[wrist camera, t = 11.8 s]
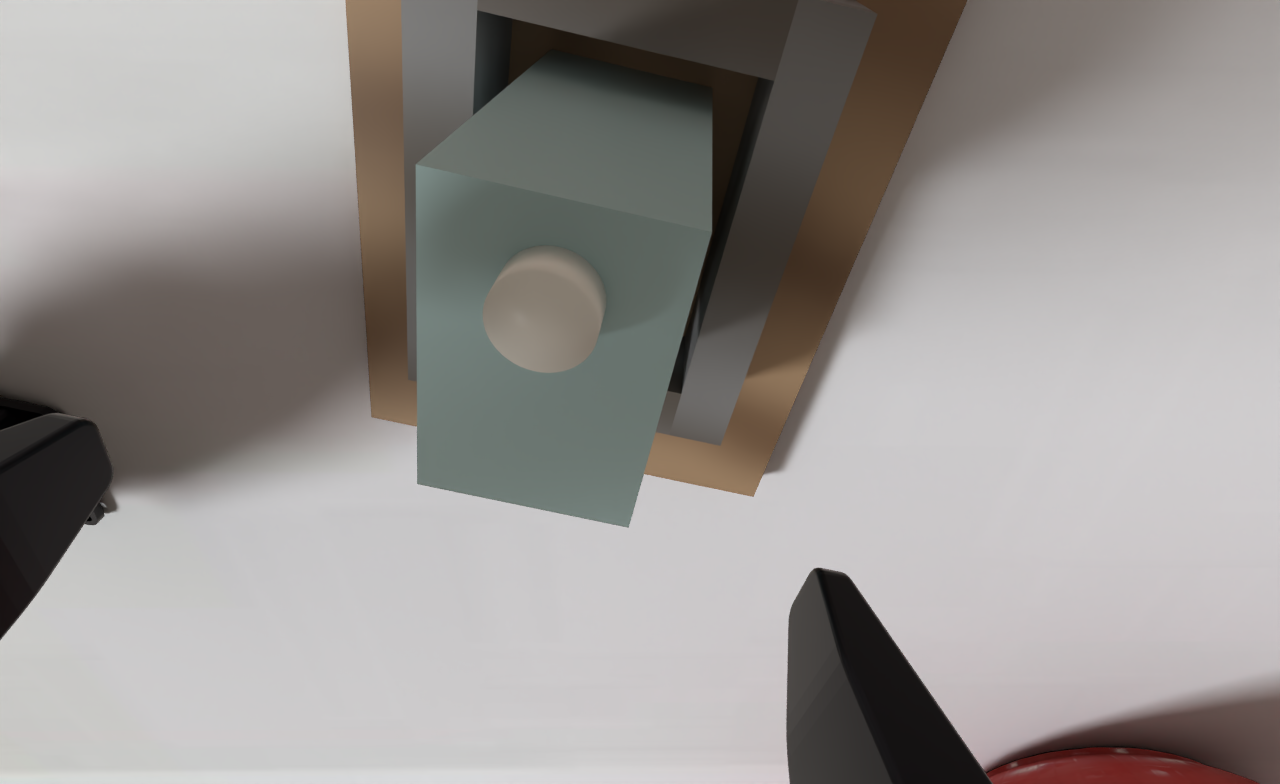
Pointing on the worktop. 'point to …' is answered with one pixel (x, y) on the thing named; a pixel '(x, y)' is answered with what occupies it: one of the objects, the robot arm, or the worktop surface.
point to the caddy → (741, 176)
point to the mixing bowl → (1111, 769)
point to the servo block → (558, 283)
